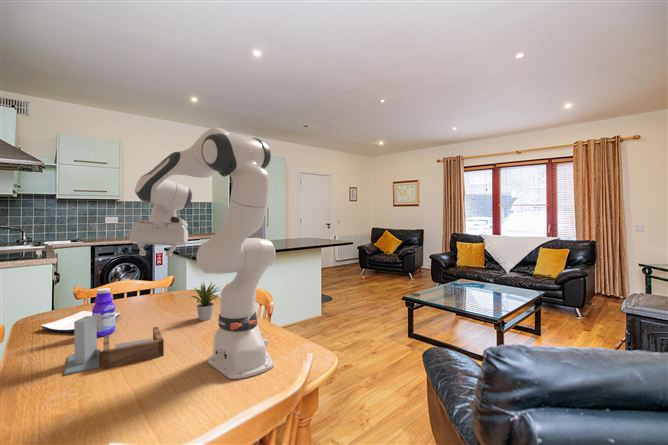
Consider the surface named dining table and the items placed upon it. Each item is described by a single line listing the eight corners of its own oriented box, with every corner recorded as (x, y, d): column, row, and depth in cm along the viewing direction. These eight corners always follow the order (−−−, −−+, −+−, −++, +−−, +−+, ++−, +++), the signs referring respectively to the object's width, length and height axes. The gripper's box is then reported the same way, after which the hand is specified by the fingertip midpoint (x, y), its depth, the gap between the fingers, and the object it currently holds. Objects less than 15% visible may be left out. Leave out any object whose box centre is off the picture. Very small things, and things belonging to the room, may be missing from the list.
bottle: (101, 338, 116) (101, 291, 115) (88, 336, 117) (88, 290, 116) (118, 331, 123) (118, 287, 122) (106, 329, 124) (106, 286, 124)
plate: (125, 318, 139) (125, 312, 139) (83, 336, 118) (83, 329, 118) (83, 315, 141) (83, 310, 141) (35, 333, 121) (35, 326, 121)
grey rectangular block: (96, 356, 101) (96, 316, 100) (84, 363, 96) (84, 321, 95) (87, 356, 100) (86, 316, 100) (74, 363, 95) (74, 321, 95)
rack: (163, 355, 103) (163, 340, 103) (103, 368, 94) (103, 352, 94) (157, 340, 115) (157, 326, 115) (103, 350, 106) (103, 336, 106)
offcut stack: (156, 356, 103) (156, 341, 103) (112, 364, 97) (112, 349, 97) (156, 351, 107) (156, 337, 107) (113, 359, 101) (113, 344, 100)
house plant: (214, 325, 131) (214, 286, 130) (181, 324, 131) (181, 286, 130) (226, 314, 145) (227, 279, 144) (197, 313, 145) (197, 278, 145)
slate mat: (99, 367, 94) (99, 365, 94) (64, 375, 90) (64, 373, 90) (100, 350, 106) (100, 349, 106) (69, 356, 101) (69, 355, 101)
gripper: (130, 217, 118) (121, 252, 113) (186, 219, 120) (179, 254, 115) (138, 222, 124) (130, 256, 119) (192, 224, 125) (186, 258, 121)
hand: (155, 255), depth 117 cm, fingers open, 8 cm apart
